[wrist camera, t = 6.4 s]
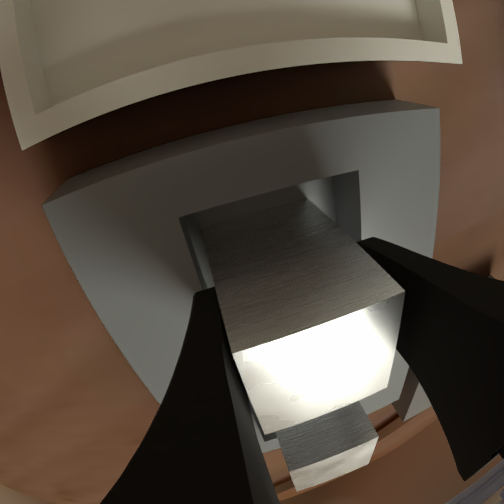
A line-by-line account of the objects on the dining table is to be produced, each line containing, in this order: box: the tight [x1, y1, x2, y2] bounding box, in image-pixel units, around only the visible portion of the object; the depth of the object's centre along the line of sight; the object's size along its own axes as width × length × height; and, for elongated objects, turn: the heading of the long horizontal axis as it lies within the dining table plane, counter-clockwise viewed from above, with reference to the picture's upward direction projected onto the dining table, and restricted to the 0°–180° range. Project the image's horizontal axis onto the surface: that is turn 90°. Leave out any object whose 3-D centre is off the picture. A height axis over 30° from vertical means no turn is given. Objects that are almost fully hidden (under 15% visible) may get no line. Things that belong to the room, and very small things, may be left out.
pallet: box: [42, 100, 440, 453], centre depth 14 cm, size 13×18×3 cm
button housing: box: [392, 275, 495, 421], centre depth 19 cm, size 9×9×3 cm
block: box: [276, 400, 378, 491], centre depth 14 cm, size 4×4×6 cm
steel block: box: [201, 198, 405, 435], centre depth 10 cm, size 4×4×6 cm
